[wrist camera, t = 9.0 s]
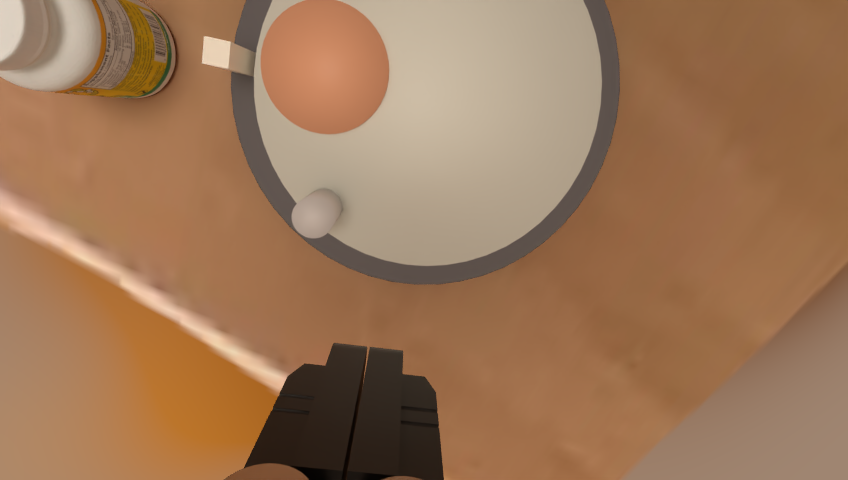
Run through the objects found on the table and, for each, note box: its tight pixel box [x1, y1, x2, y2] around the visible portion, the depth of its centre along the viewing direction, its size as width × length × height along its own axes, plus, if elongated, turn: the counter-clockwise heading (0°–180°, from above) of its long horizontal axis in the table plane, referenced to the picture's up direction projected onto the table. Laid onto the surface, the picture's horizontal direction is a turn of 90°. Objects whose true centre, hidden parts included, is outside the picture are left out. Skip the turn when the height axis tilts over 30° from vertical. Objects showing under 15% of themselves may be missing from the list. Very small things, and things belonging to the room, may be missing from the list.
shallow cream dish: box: [254, 0, 602, 266], centre depth 23 cm, size 18×18×5 cm
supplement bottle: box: [0, 0, 176, 98], centre depth 20 cm, size 5×5×10 cm
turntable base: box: [202, 0, 620, 284], centre depth 24 cm, size 22×22×5 cm
